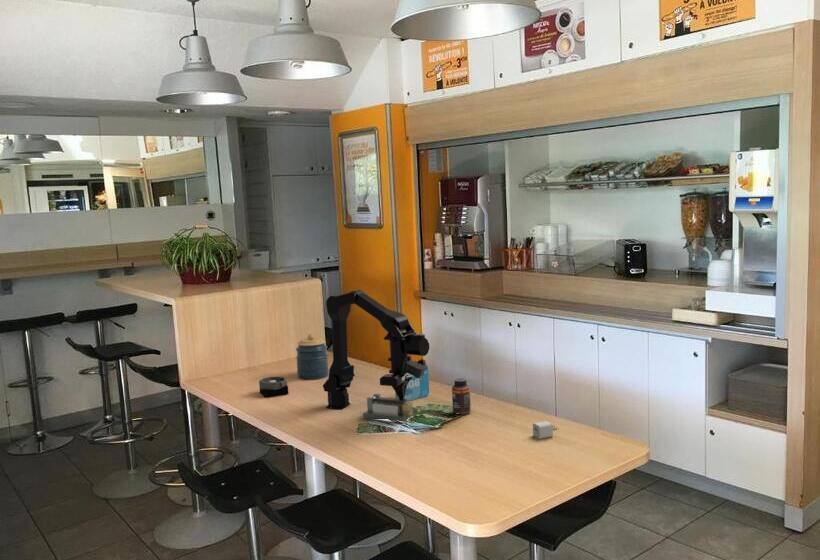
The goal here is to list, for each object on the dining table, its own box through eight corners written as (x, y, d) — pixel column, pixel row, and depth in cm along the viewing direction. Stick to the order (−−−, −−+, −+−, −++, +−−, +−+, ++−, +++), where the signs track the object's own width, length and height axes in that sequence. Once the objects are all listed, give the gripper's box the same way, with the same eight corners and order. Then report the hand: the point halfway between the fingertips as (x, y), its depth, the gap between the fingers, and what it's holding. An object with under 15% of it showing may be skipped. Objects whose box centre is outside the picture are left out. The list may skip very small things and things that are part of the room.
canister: (333, 372, 298) (331, 330, 296) (322, 380, 286) (320, 337, 284) (304, 371, 301) (301, 330, 299) (292, 379, 289) (289, 337, 286)
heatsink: (363, 419, 234) (362, 399, 233) (377, 410, 243) (376, 391, 242) (404, 423, 228) (403, 403, 227) (417, 414, 236) (416, 395, 236)
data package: (402, 402, 251) (401, 369, 249) (395, 399, 254) (393, 367, 253) (429, 395, 257) (428, 363, 256) (422, 393, 261) (421, 361, 260)
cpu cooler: (256, 378, 271) (282, 374, 275) (257, 392, 272) (283, 388, 276) (263, 384, 262) (290, 380, 266) (264, 399, 263) (290, 395, 267)
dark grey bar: (369, 402, 236) (369, 397, 236) (373, 400, 239) (373, 395, 239) (404, 404, 231) (403, 399, 231) (407, 402, 233) (407, 397, 233)
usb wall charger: (533, 435, 212) (532, 422, 211) (553, 431, 214) (552, 419, 214) (540, 439, 208) (539, 426, 207) (560, 436, 210) (560, 422, 210)
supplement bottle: (473, 410, 238) (472, 377, 236) (467, 416, 232) (465, 382, 231) (456, 409, 240) (455, 376, 239) (450, 414, 235) (448, 381, 233)
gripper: (409, 361, 219) (412, 410, 221) (433, 348, 236) (435, 394, 237) (377, 359, 224) (380, 407, 225) (402, 347, 240) (405, 392, 242)
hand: (402, 400), depth 232 cm, fingers closed, pressing on dark grey bar
